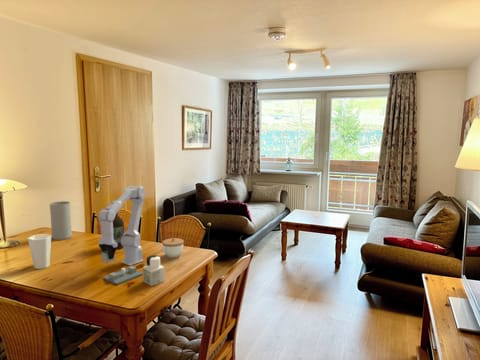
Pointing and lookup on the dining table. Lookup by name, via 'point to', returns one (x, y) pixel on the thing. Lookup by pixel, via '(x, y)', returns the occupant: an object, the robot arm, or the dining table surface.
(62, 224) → the cylinder vase
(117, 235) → the olive oil
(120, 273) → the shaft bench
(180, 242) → the lidded bowl
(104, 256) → the box
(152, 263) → the container
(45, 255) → the cup
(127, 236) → the robot arm
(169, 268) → the dining table surface
